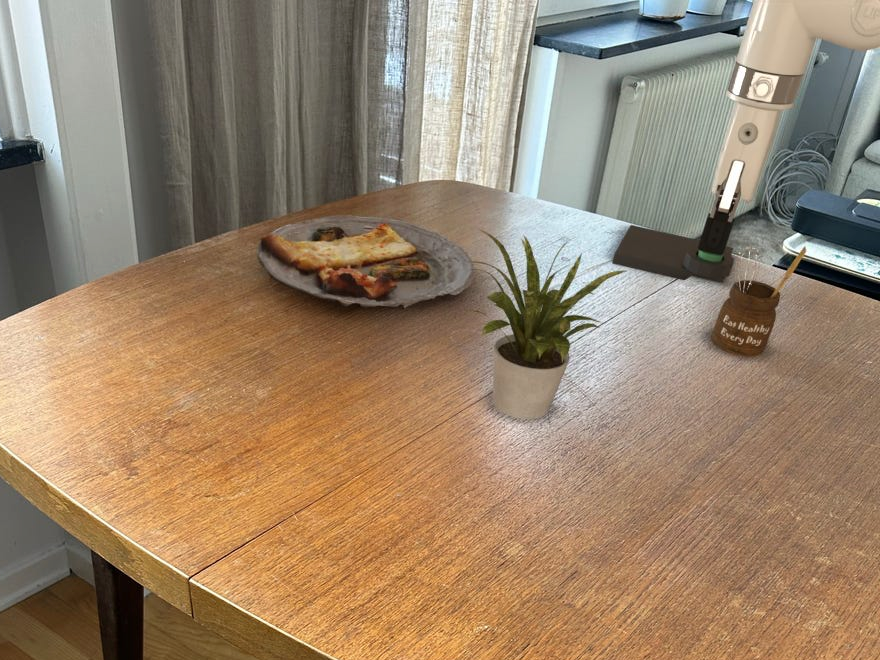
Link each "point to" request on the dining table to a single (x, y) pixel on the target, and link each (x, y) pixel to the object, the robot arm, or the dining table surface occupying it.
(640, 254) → the green push button base
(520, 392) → the house plant
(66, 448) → the dining table surface
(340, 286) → the food plate
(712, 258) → the button
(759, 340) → the utensil holder
